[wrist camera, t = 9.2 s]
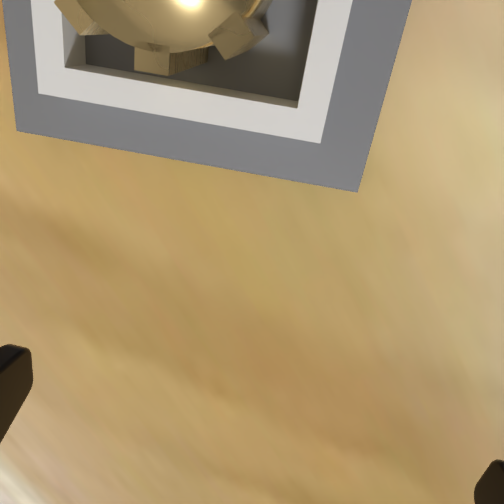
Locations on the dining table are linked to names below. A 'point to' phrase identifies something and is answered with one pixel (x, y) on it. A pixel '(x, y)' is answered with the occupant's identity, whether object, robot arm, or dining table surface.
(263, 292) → the dining table surface
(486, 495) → the robot arm
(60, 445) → the dining table surface
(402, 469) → the dining table surface
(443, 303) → the dining table surface
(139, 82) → the carrier plate
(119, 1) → the gear
